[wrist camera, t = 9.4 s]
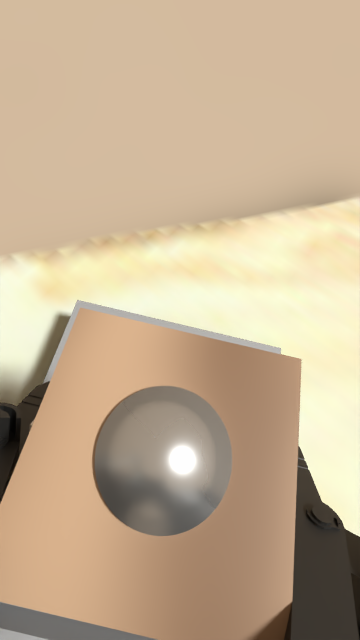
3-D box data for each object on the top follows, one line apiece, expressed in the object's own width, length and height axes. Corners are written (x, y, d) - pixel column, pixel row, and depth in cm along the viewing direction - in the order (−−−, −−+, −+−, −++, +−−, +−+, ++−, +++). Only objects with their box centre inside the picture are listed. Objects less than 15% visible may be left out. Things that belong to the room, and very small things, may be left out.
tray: (-28, 609, 21) (-64, 638, 17) (85, 319, 30) (77, 300, 27) (236, 671, 21) (255, 714, 17) (264, 362, 30) (281, 348, 27)
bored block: (80, 513, 15) (-40, 595, 5) (116, 395, 18) (79, 305, 8) (198, 541, 15) (292, 674, 5) (216, 419, 18) (303, 357, 8)
